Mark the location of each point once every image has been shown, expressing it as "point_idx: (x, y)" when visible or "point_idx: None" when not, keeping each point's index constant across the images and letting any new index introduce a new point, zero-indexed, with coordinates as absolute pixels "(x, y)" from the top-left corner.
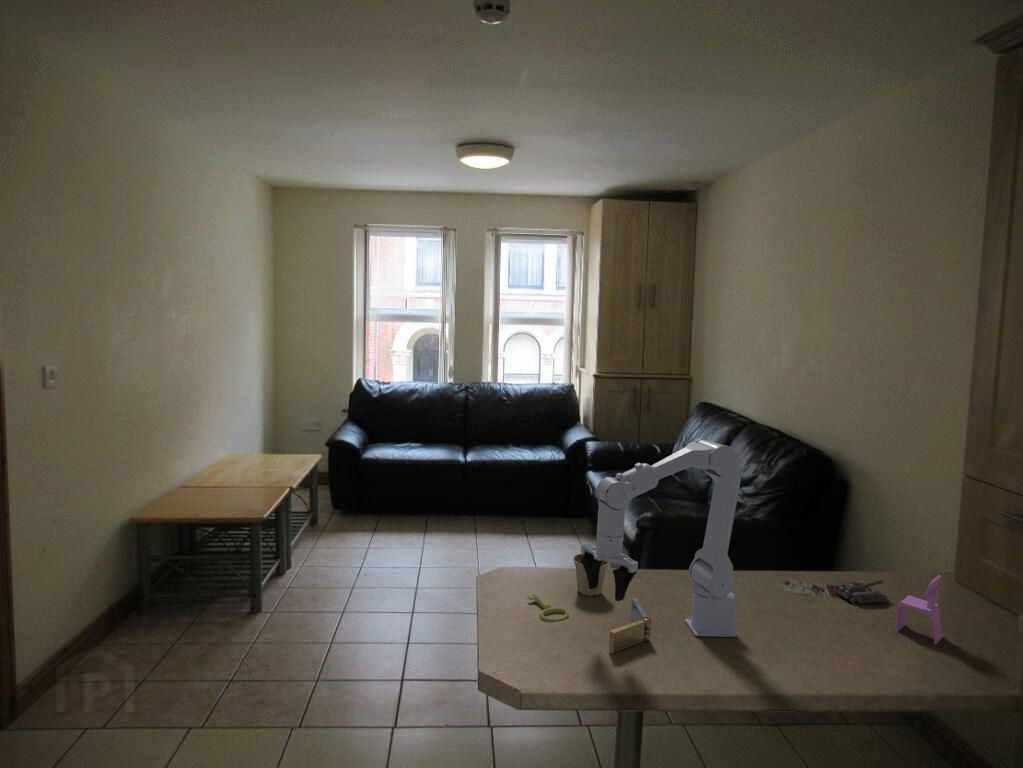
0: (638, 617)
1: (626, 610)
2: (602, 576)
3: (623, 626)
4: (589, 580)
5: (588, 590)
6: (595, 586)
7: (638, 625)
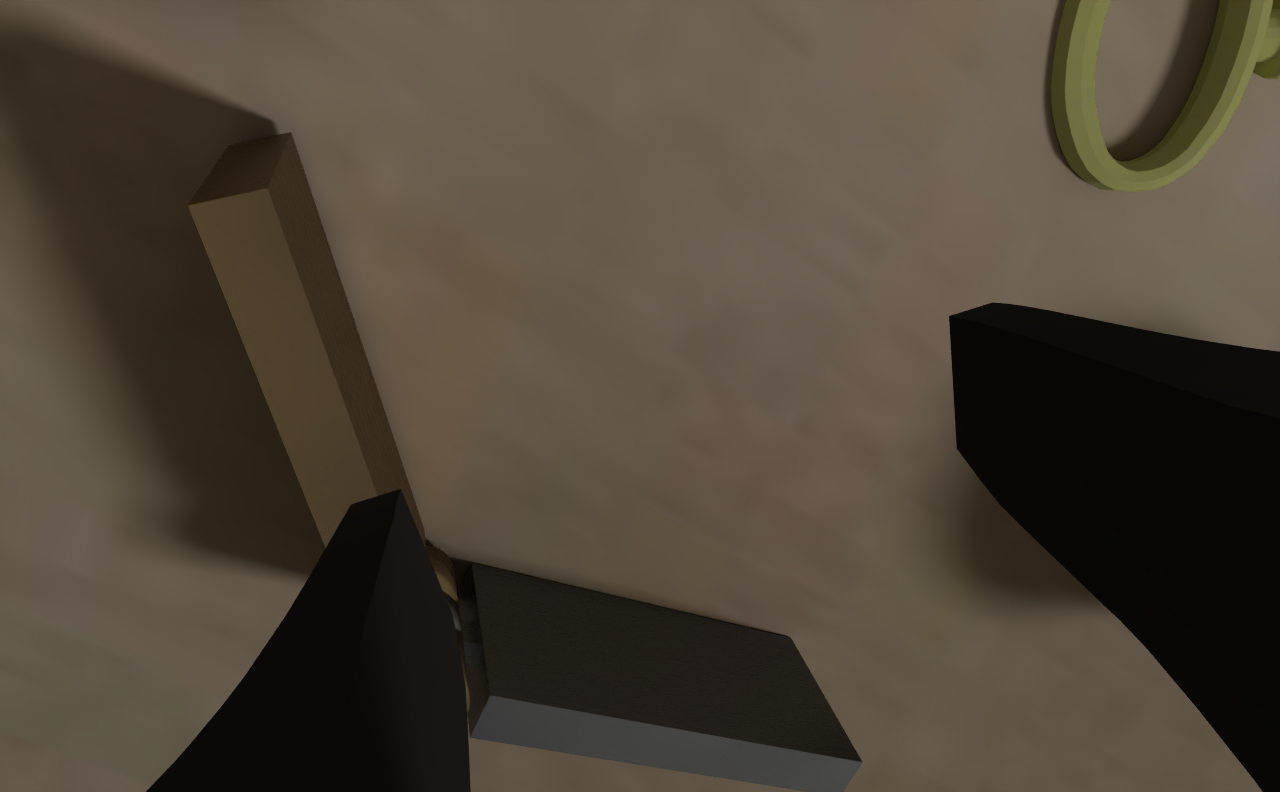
0: (612, 669)
1: (895, 658)
2: None
3: (338, 412)
4: (1073, 342)
5: None
6: (969, 423)
7: None
